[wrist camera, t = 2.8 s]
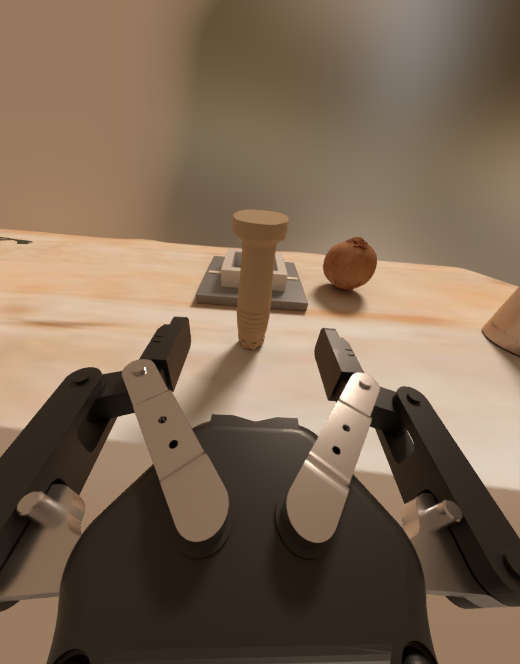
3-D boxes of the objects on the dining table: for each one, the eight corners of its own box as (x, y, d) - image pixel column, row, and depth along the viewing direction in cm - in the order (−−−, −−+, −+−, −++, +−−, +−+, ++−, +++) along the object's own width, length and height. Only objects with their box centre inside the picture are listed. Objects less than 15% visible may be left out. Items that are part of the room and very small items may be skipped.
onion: (374, 295, 43) (399, 243, 37) (338, 302, 40) (358, 246, 34) (342, 276, 50) (358, 229, 44) (308, 280, 46) (320, 230, 40)
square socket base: (292, 269, 51) (296, 249, 48) (306, 310, 36) (312, 286, 34) (214, 262, 49) (213, 242, 47) (196, 302, 35) (194, 276, 33)
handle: (225, 355, 26) (224, 218, 17) (239, 325, 31) (244, 207, 22) (264, 363, 26) (284, 227, 17) (272, 332, 31) (291, 214, 22)
